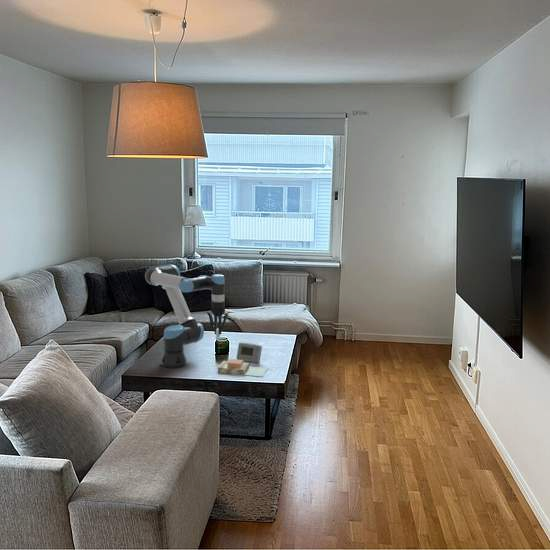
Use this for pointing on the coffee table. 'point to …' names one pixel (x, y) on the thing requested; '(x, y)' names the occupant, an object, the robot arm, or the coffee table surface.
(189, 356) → the coffee table surface
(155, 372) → the coffee table surface
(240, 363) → the terracotta tile
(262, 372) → the sage mat
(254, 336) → the coffee table surface
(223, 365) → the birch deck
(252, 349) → the digital clock
